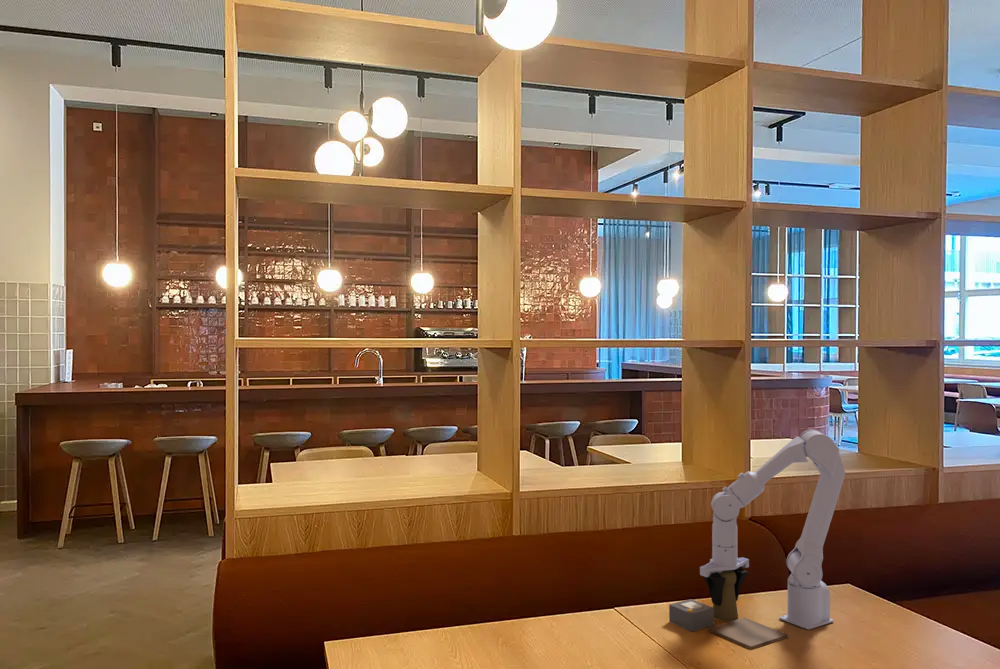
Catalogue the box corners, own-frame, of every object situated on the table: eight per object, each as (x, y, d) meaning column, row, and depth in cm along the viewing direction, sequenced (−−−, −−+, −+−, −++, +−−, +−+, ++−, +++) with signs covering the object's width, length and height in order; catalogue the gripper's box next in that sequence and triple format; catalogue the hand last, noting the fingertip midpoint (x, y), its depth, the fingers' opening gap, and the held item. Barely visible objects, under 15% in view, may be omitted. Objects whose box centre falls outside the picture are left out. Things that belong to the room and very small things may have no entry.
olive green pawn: (739, 622, 178) (739, 574, 178) (712, 620, 179) (712, 573, 179) (736, 612, 184) (736, 566, 184) (710, 611, 185) (710, 565, 185)
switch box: (691, 615, 182) (691, 597, 182) (713, 625, 176) (713, 606, 176) (669, 621, 178) (669, 602, 178) (691, 631, 172) (691, 612, 172)
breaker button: (691, 613, 179) (691, 601, 179) (702, 618, 176) (702, 605, 176) (680, 616, 177) (680, 604, 177) (691, 621, 174) (691, 608, 174)
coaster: (744, 620, 179) (744, 617, 179) (787, 637, 169) (787, 634, 169) (707, 630, 173) (707, 628, 173) (750, 649, 162) (750, 646, 162)
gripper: (732, 536, 188) (732, 591, 188) (690, 544, 181) (690, 602, 181) (756, 542, 182) (756, 600, 182) (713, 552, 175) (713, 611, 175)
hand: (724, 601), depth 181 cm, fingers open, 5 cm apart
